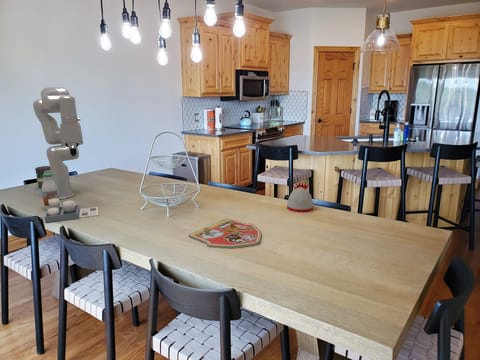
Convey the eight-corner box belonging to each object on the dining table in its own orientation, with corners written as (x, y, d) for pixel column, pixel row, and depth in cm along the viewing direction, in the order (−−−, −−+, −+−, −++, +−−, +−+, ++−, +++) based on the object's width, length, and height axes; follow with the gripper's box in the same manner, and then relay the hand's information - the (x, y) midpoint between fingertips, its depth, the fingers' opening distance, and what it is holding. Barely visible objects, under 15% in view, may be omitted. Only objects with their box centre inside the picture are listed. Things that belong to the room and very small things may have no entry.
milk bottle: (41, 209, 196) (35, 174, 191) (54, 205, 202) (49, 171, 198) (50, 211, 192) (45, 175, 187) (63, 207, 199) (58, 172, 194)
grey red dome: (312, 213, 184) (314, 185, 180) (286, 211, 187) (286, 184, 183) (313, 204, 197) (314, 178, 193) (288, 203, 200) (288, 177, 196)
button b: (66, 211, 191) (65, 202, 189) (76, 209, 193) (75, 201, 191) (65, 214, 186) (64, 204, 185) (76, 212, 188) (74, 203, 187)
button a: (50, 207, 187) (48, 198, 186) (60, 206, 189) (59, 197, 188) (49, 210, 183) (47, 201, 182) (59, 209, 185) (58, 200, 183)
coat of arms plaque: (228, 220, 177) (228, 211, 176) (278, 234, 159) (278, 225, 158) (184, 239, 155) (184, 229, 154) (236, 258, 137) (236, 247, 136)
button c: (49, 217, 181) (48, 208, 180) (60, 216, 183) (58, 206, 182) (48, 220, 177) (46, 211, 176) (59, 219, 179) (58, 209, 177)
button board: (48, 213, 189) (47, 208, 188) (79, 209, 194) (78, 204, 194) (45, 223, 175) (44, 217, 175) (78, 218, 181) (77, 213, 180)
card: (80, 210, 194) (80, 208, 194) (97, 207, 197) (97, 206, 197) (79, 218, 181) (79, 216, 181) (98, 215, 185) (98, 214, 184)
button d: (64, 210, 183) (63, 200, 182) (75, 208, 185) (74, 199, 184) (64, 213, 179) (62, 203, 178) (74, 211, 181) (73, 202, 179)
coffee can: (37, 190, 234) (34, 169, 230) (38, 187, 243) (35, 166, 239) (55, 188, 238) (52, 168, 234) (55, 185, 247) (52, 165, 244)
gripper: (85, 119, 188) (89, 153, 193) (54, 120, 183) (58, 155, 188) (84, 120, 181) (88, 156, 186) (52, 121, 176) (57, 158, 181)
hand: (73, 155), depth 187 cm, fingers closed
